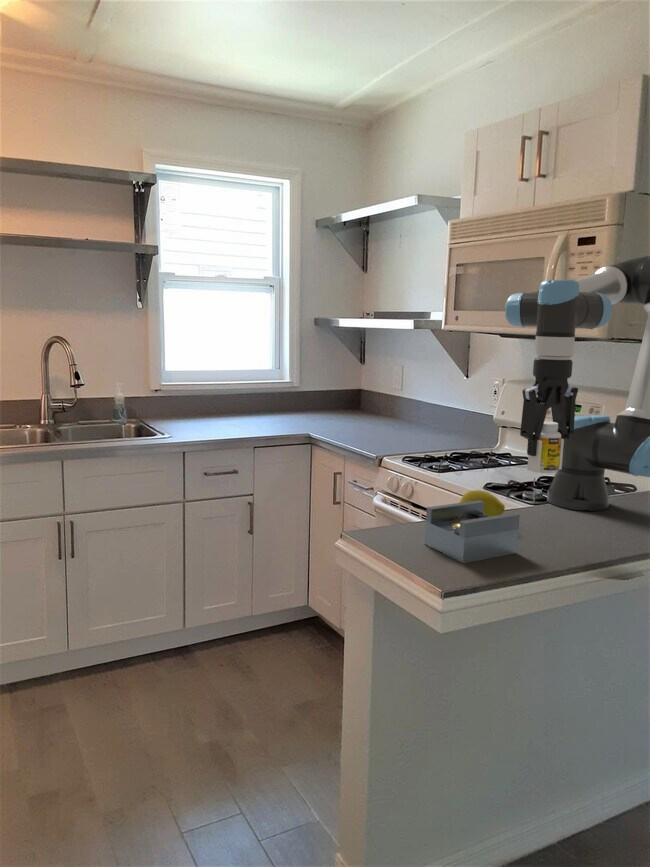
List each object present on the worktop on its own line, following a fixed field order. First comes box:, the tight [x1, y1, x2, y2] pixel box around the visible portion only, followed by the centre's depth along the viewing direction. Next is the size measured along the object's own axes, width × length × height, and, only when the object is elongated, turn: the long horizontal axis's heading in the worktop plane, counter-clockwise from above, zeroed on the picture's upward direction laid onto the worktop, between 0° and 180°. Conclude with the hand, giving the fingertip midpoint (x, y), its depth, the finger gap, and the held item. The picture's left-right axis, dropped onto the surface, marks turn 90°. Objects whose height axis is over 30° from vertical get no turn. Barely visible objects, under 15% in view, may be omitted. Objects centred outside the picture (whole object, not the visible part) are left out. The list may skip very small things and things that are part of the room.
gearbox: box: [424, 500, 521, 564], centre depth 138 cm, size 14×12×8 cm
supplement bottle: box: [534, 420, 561, 474], centre depth 140 cm, size 6×6×10 cm
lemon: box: [458, 489, 505, 517], centre depth 154 cm, size 11×8×8 cm
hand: (544, 469), depth 141 cm, fingers closed on supplement bottle, 6 cm apart
